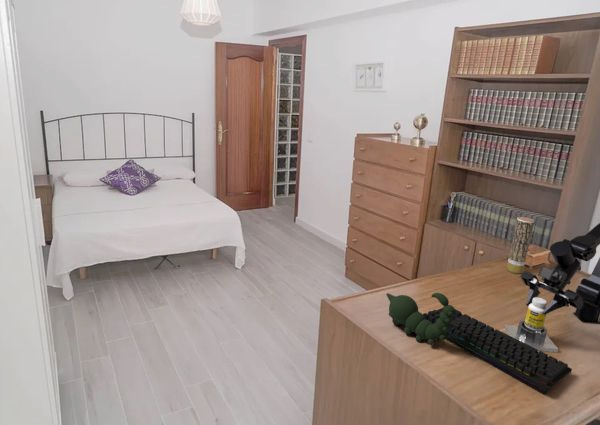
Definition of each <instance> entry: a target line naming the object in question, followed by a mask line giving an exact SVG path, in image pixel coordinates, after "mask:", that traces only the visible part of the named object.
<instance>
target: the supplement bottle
mask: <svg viewBox="0 0 600 425" xmlns="http://www.w3.org/2000/svg"><path fill="white" fill-rule="evenodd" d="M527 307H528V308H527V311H526V315H525V318H524V320H525V323H524V324H525V326H526V327H527V328H529V329H531V330H535V331H540V330H542V329H543V326H544V325H545V321H546V317H547V314H545V315H544V314H543V312H544V310H545V308H546V307H547V300H545V298H541V297H539V296H537V297H535V298H533V300H532V303H531V304H529V306H527ZM544 327H545V326H544Z"/></svg>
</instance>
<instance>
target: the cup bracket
mask: <svg viewBox="0 0 600 425" xmlns="http://www.w3.org/2000/svg"><path fill="white" fill-rule="evenodd" d="M524 323H525V319H524V320H521V321H519V323H518V326H517V325H508V324H507V325H506V324H505V325H504V330H505V332H506V334H507V335H509V336H511V337H513V338H515V339H517V340H519V341H521V342H523V343H525V344H527V345H529V346H531V347H534V348H536V349H537V350H538V352H539V351H542V352H551V353H558V352H559V348H558V347H557V346H556V345H555V343H554V342H553V341H552V340H551V338H550V337H549V336H548V335H547V333H548V329H547V328H546V327H545V326H543V329H542V330H540V331H535V330H531V329H529V328H527V327H526V326H525V324H524Z"/></svg>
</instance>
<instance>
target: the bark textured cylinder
mask: <svg viewBox="0 0 600 425" xmlns="http://www.w3.org/2000/svg"><path fill="white" fill-rule="evenodd" d="M534 225H535V219H532V218H529V217H528V216H527V217H525V216H519V217H518V216H517V219H516V224H515V228H514V232H513V237H512V242H511V246H510V251H509V255H508V259H507V260H508V261H507V265H506V270H507V271H508V272H509V273H512V274H517V275H521V274H522V273H523V272H524V269H525V268H524V267H525V264H526V261H527V260H526V259H527V256H528V252H529V246H530V243H531V238H532V235H533V229H534Z"/></svg>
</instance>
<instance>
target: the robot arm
mask: <svg viewBox="0 0 600 425" xmlns="http://www.w3.org/2000/svg"><path fill="white" fill-rule="evenodd" d="M599 246H600V222H599V223H598V224H596V225H595V226H594V227H593V228H592V229H590V230H589V231H588V232H587V233H586V234H584V235H578V236H575V237H573V238H572V239H570V240H569V239H567V238H563V240H562V241H556V242H554V243H552V244H551V246H550V247H549V251H550V253H551V255H552V258H553V259H554V262H555V263H556V265H555V266H554V267H550V269H549V268H547V267H544V266H541V268H540V269H539V272H538V274H537V276H536V275H535V274H533V273H531V272H529V271H523V272H522V273H520V274H519V277H520V279H521V281H522V283H523V284H524V285H525V286H527V287H529V290H528V296H527V299H526V303H525V305H526V307H528V306H529V304H531V303H532V300H533V298H535V297H539V295H540V294H541V292H540V289H543V290H544V291H548V292H550V293H551V294H554V297H553V298H552V300H551V301H550V302H549V303H548V305H546V308H545V310H544V312H543V314H544V315H545V314H546V315H548V314H550V313H552V312H553V311H554V312H555V310H559V309H561V308H563V307H566V308H569V306H570V307H572V308H575V311H573V315H574V316H575V317H576V318H577V319H578V320H580V321H579V322H582V323H585V324H599V325H600V320H599V318H600V257H599V258H598V260H597V262H596V264H595V266H594V268H593V270H592V272H591V275H590V276H588V277H586V278H585V277H584V278H582V279H581V280H580V283H579V285H577V287H576V289H575V291H573V290H571V289H569V288H568V289H565V287H567V286H568V285H570V284H571V282H572V281H571V280H572V279H573V277H574V275H576V273H577V272H580V271H581V270H582V265H581V264H582V262H580V261H579V260H582V261H584V262H589V261H590V260H593V259H594V257H596V254H597V248H598V247H599ZM538 277H539V278H540V277H541V280H539V278H538ZM564 290H565V291H564Z"/></svg>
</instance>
